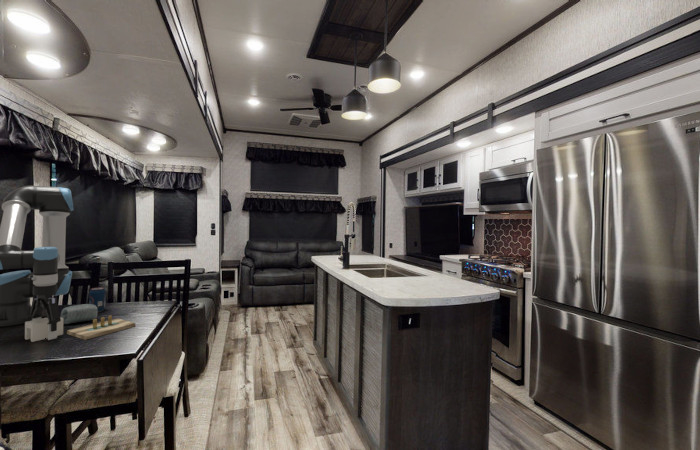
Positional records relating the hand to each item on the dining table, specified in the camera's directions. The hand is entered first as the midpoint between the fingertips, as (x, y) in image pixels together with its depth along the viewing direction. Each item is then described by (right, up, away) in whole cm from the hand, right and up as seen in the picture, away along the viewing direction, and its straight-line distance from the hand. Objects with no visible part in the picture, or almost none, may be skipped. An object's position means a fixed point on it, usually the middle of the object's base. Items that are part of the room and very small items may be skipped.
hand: (44, 336), depth 136 cm
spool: (-2, 0, +20) cm, 20 cm away
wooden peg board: (+17, -1, +10) cm, 19 cm away
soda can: (-7, 0, +38) cm, 39 cm away
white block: (0, 0, 0) cm, 0 cm away
